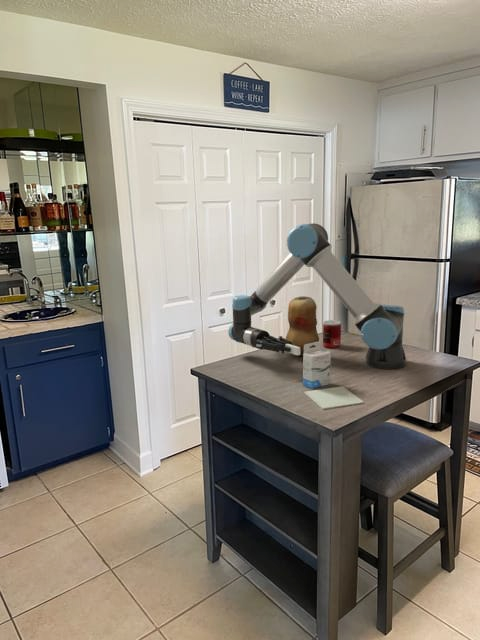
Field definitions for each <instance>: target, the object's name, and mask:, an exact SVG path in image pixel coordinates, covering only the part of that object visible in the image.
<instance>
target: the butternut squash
mask: <svg viewBox="0 0 480 640" xmlns="http://www.w3.org/2000/svg"><path fill="white" fill-rule="evenodd" d="M317 308H318V307H317V303H316V301H315V300H314V299H313V298H312V297H309V296H298V297H294V298H292V299H291V300H290V301H289V302H288V310H287V320H288V321H287V322H288V325H289V328H288V330H287V334H286V337H285V339H286V340H288V341H291V342H292V345H294V346H297V347H300V355H294V354H292V355H294V356H296V357H297V358H303V353H304V345H305V344H309V343H314V342H319V341H320V338H319V337H320V336H319V333H318V330H317V325H318V320H317ZM313 347H316V345H312V346H310V348H313Z"/></svg>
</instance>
